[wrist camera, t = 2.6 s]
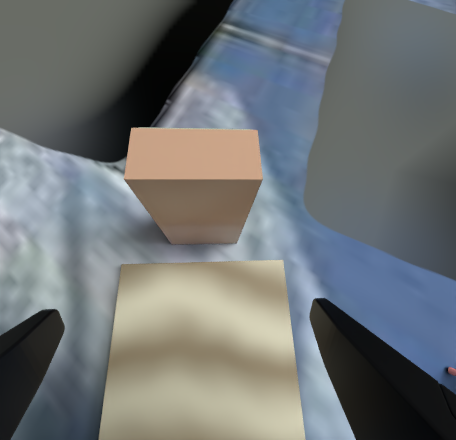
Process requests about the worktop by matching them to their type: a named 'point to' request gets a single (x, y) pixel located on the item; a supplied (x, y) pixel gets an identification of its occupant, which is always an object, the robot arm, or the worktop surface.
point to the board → (202, 354)
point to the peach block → (195, 180)
